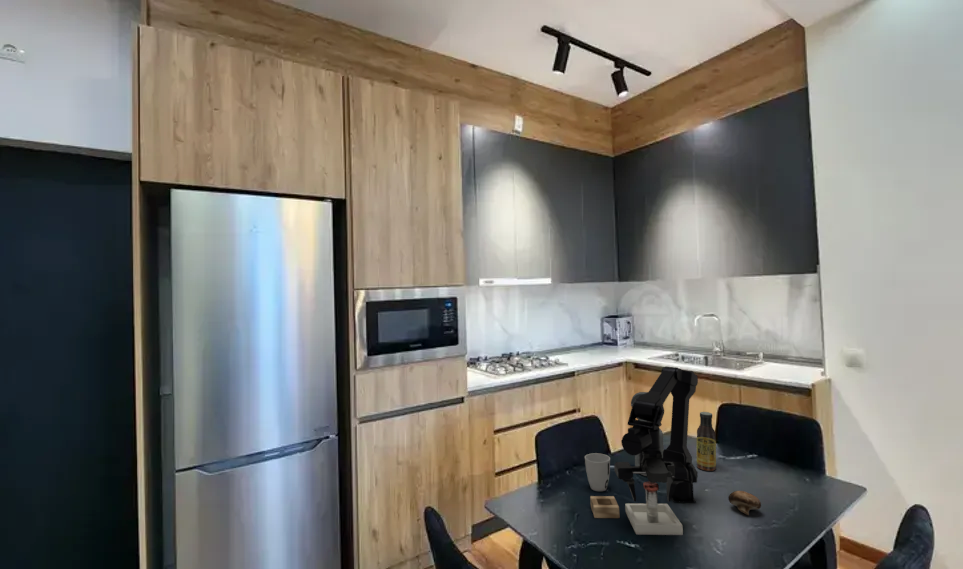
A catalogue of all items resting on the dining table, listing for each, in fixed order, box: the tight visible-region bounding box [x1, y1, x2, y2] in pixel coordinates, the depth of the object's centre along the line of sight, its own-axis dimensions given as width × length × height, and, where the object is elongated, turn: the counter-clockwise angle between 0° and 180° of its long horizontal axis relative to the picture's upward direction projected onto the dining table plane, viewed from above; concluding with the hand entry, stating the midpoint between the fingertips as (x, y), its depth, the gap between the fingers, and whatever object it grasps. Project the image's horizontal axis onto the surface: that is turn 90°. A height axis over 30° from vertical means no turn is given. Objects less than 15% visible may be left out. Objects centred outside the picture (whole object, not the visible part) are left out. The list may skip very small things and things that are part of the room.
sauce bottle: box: [696, 411, 717, 472], centre depth 158 cm, size 7×6×20 cm
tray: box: [624, 503, 684, 536], centre depth 123 cm, size 12×12×2 cm
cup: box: [584, 452, 611, 492], centre depth 146 cm, size 8×8×10 cm
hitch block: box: [589, 495, 620, 519], centre depth 130 cm, size 7×7×3 cm
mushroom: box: [728, 490, 762, 516], centre depth 127 cm, size 8×8×6 cm
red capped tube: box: [642, 480, 660, 523], centre depth 123 cm, size 4×4×10 cm
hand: (651, 501), depth 123 cm, fingers open, 9 cm apart
